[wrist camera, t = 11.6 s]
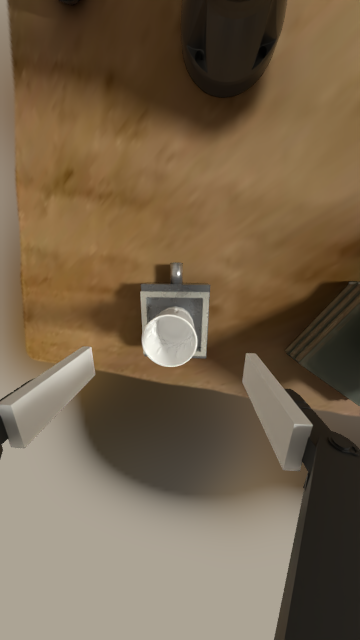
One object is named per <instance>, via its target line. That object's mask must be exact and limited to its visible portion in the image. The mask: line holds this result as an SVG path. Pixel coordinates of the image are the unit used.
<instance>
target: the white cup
mask: <svg viewBox="0 0 360 640" xmlns="http://www.w3.org/2000/svg"><path fill="white" fill-rule="evenodd" d="M142 346H143V349H144V351H145V353H146V355H147V356H148V357H149V358H150V359H151V360H152V361H153V362H155V363H157V364H159V365H162V366H166V367H176V366H180V365H182V364H184V363H186V362H187V361H189V360H190V359H191V358H192V356H193V355H194V353H195V351H196V348H197V335H196V331H195V326H194V323H193V320H192V318H191V316H190V314H189V312H188V311H186V310H185V309H184V308H182V307H177V306H173V307H168V308H166V309H165V310H163V311H162V312H160V313H159V314H158V315H157V316H155V317H154V318H153V319H152V320H151V321H150V322H149V323H148V324H147V325H146V326H145V328H144V330H143V333H142Z"/></svg>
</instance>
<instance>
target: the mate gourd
mask: <svg viewBox="0 0 360 640" xmlns="http://www.w3.org/2000/svg"><path fill="white" fill-rule="evenodd" d="M59 1H61V2H64V3H66V4H75V3H77V2H78V1H79V0H59Z"/></svg>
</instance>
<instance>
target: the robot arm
mask: <svg viewBox="0 0 360 640" xmlns="http://www.w3.org/2000/svg"><path fill="white" fill-rule="evenodd" d="M286 5H287V0H183V1H182V10H181V40H182V52H183V57H184V61H185V65H186V67H187V70H188V72H189V74H190V76H191V78H192V79H193V81H194V82H195V83H196V84H197V85H198V86H199V87H200V88H201V89H202V90H203V91H205V92H206V93H208V94H210V95H213V96H217V97H230V96H234V95H237V94H240V93H242V92H243V91H245V90H247V89H248V88H249V87H251V86H252V85H253V84H254V83H255V82H256V81H257V80H258V79H259V78H260V76H261V75H262V74H263V72H264V71H265V69H266V67H267V66H268V64H269V62H270V60H271V58H272V55H273V52H274V50H275V47H276V44H277V42H278V39H279V36H280V33H281V30H282V26H283V22H284V18H285V12H286ZM94 375H95V369H94V362H93V355H92V348H91V347H81V348H80V349H78V350H77V351H75V352H74V353H72V354H71V355H69V356H68V357H66V358H65V359H63V360H62V361H60V362H59V363H57V364H56V365H54V366H53V367H51V368H50V369H48V370H47V371H45V372H44V373H42V374H41V375H39V376H38V377H36V378H34V379H32V380H30V381H28V382H26V383H25V384H23V385H22V386H21V387H19V388H17V389H16V390H14V392H11V393H10V394H8V395H7V396H5V397H4V398H2V399H1V400H0V458H1V454H2V451H3V449H2V445H1V444H2V443H4V442H5V441H6V440H7V439H9V442H10V445H11V447H15V448H26V446H27V445H28V444H29V443H30V442H31V441H32V440H33V439H34V438H35V437H36V436H37V435H38V434H39V433H40V432H41V431H42V430H43V429H44V428H45V427H46V425H47V424H48V423H49V422H50V421H51V420H52V419H53V418H54V417H55V416H56V415H57V414H58V413H59V412H60V411H61V410H62V409H63V408H64V407H65V406H66V405H67V404H68V403H69V402H70V400H71V399H72V398H73V397H74V396H75V395H76V394H77V393H78V392H79V391H80V390H81V389H82V388H83V387H84V386H85V385H86V384H87V383H88V382H89V381H90V380H91V379H92V378H93V377H94ZM242 383H243V385H244V387H245V389H246V391H247V393H248V396H249V398H250V400H251V402H252V404H253V406H254V408H255V411H256V413H257V415H258V417H259V419H260V421H261V423H262V426H263V428H264V430H265V432H266V434H267V436H268V438H269V441H270V443H271V445H272V447H273V449H274V452H275V454H276V456H277V458H278V460H279V462H280V464H281V467H282V469H283V470H293V471H300V468H301V465H302V462H303V463H304V465H305V467H306V469H307V470H308V474H307V477H306V481H305V484H304V487H303V488H304V493H303V498H302V503H301V508H300V513H299V518H298V523H297V528H296V533H295V538H294V543H293V548H292V553H291V558H290V563H289V568H288V573H287V578H286V583H285V588H284V593H283V598H282V603H281V608H280V613H279V618H278V623H277V628H276V633H275V638H274V640H360V450H359V448H358V447H357V446H356V445H355V444H354V443H353V442H351V441H350V440H349V439H348V438H346V437H344V436H342V435H341V434H338V433H336V432H333V431H331V430H330V429H329V428H328V427H327V426H326V425H325V424H324V422H323V421H322V420H321V419H320V418H319V417H318V415H317V414H316V413H315V412H314V411H313V410H312V409H311V408H310V406H309V405H308V404H307V403H306V402H305V401H304V400H303V398H302V397H301V396H300V395H299V394H297V393H296V392H294V391H293V390H291V389H284V388H283V387H282V386H281V384H280V383H279V382H278V381H277V379H276V378H275V377H274V376H273V374H272V373H271V372H270V371H269V369H268V368H267V367H266V366H265V364H264V363H263V362H262V361H261V359H260V358H259V357H258V356H257V354H256V353H246V357H245V365H244V373H243V380H242Z"/></svg>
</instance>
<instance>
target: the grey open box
mask: <svg viewBox="0 0 360 640" xmlns="http://www.w3.org/2000/svg"><path fill="white" fill-rule="evenodd" d="M170 265H171V283H145V284H141V291H140V296H141V315H142V333H143V330H144V328H145V326H146V325H147V324H148V323H149V322H150V321H151V320H152V319H153V318H154V317H155V316H157V315H158V314H159V313H160V312H162V311H163V310H165V309H166V308H168V307H173V306H177V307H182V308H184V309H185V310H186V311H188V312H189V314H190V316H191V318H192V320H193V323H194V326H195V331H196V335H197V348H196V351H195V353H194V355H193V356H192V358H206V353H207V334H208V316H209V298H210V285H209V284H207V283H182V271H183V263H170ZM143 353H144V354H145V356H147V355H146V353H145V351H144V349H143Z"/></svg>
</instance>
